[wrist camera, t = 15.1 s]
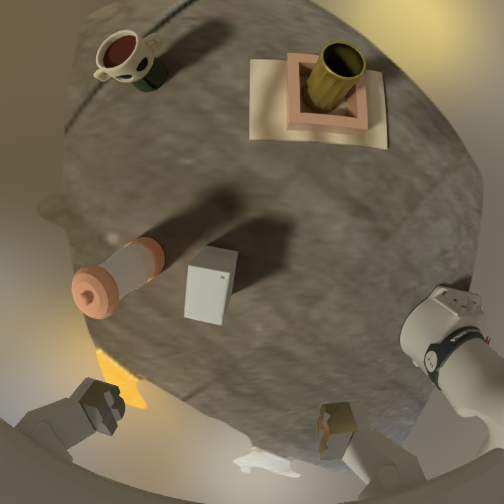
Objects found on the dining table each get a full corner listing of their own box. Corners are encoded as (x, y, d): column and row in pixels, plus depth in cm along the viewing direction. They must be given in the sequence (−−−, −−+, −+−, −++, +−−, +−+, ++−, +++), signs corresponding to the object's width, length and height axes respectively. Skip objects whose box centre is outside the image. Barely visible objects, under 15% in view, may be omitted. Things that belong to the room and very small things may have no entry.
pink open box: (352, 74, 34) (362, 61, 29) (356, 135, 37) (368, 129, 32) (285, 67, 35) (287, 52, 30) (286, 130, 38) (288, 122, 32)
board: (379, 74, 35) (381, 72, 34) (384, 149, 38) (387, 149, 37) (250, 62, 36) (250, 59, 35) (249, 140, 39) (249, 139, 38)
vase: (339, 82, 35) (368, 44, 21) (339, 116, 36) (371, 88, 23) (302, 76, 35) (316, 33, 21) (300, 110, 37) (316, 77, 23)
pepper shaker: (159, 283, 46) (104, 338, 27) (125, 267, 46) (60, 311, 27) (169, 245, 44) (111, 287, 26) (133, 230, 44) (63, 261, 25)
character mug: (132, 108, 39) (90, 89, 26) (121, 80, 37) (81, 57, 25) (186, 75, 37) (159, 42, 24) (172, 48, 35) (144, 13, 23)
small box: (205, 244, 44) (187, 262, 34) (239, 250, 44) (230, 271, 34) (199, 289, 46) (182, 317, 36) (231, 295, 46) (222, 326, 36)
